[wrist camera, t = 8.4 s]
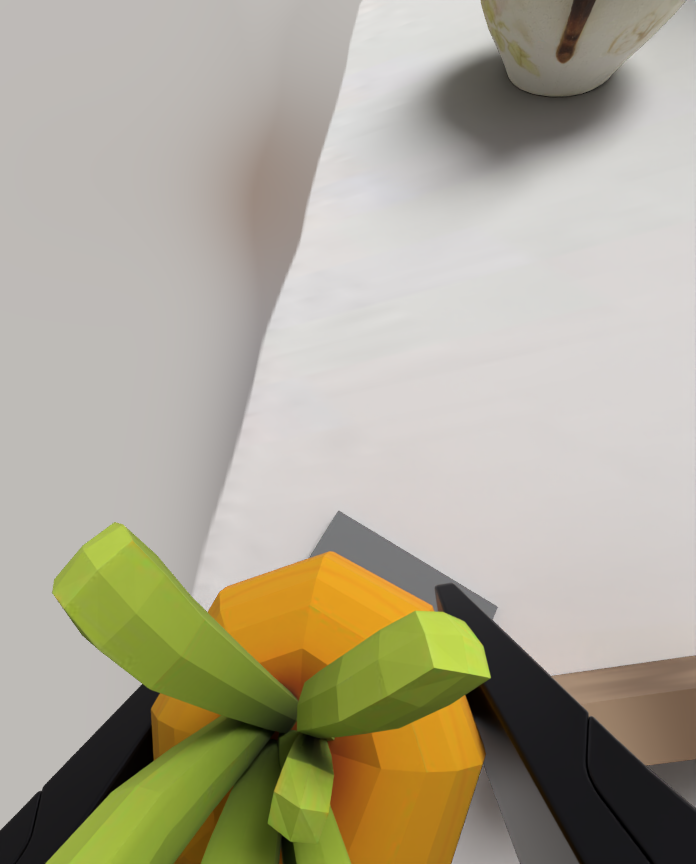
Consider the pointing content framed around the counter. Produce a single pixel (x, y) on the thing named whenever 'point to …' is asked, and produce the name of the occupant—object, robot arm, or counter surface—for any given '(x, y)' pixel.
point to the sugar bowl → (571, 39)
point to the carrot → (280, 714)
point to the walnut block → (643, 706)
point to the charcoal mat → (388, 561)
